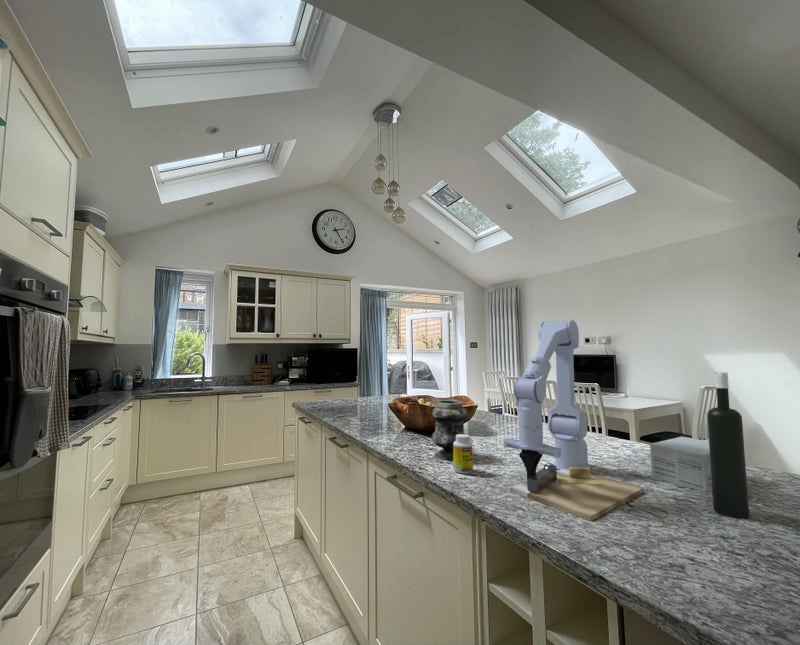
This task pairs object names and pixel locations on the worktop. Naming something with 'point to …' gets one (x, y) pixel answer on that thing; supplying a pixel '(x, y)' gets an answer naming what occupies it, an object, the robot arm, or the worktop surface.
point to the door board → (581, 493)
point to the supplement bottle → (463, 454)
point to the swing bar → (542, 478)
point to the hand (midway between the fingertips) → (531, 481)
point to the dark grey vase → (448, 426)
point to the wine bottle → (727, 455)
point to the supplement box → (682, 462)
